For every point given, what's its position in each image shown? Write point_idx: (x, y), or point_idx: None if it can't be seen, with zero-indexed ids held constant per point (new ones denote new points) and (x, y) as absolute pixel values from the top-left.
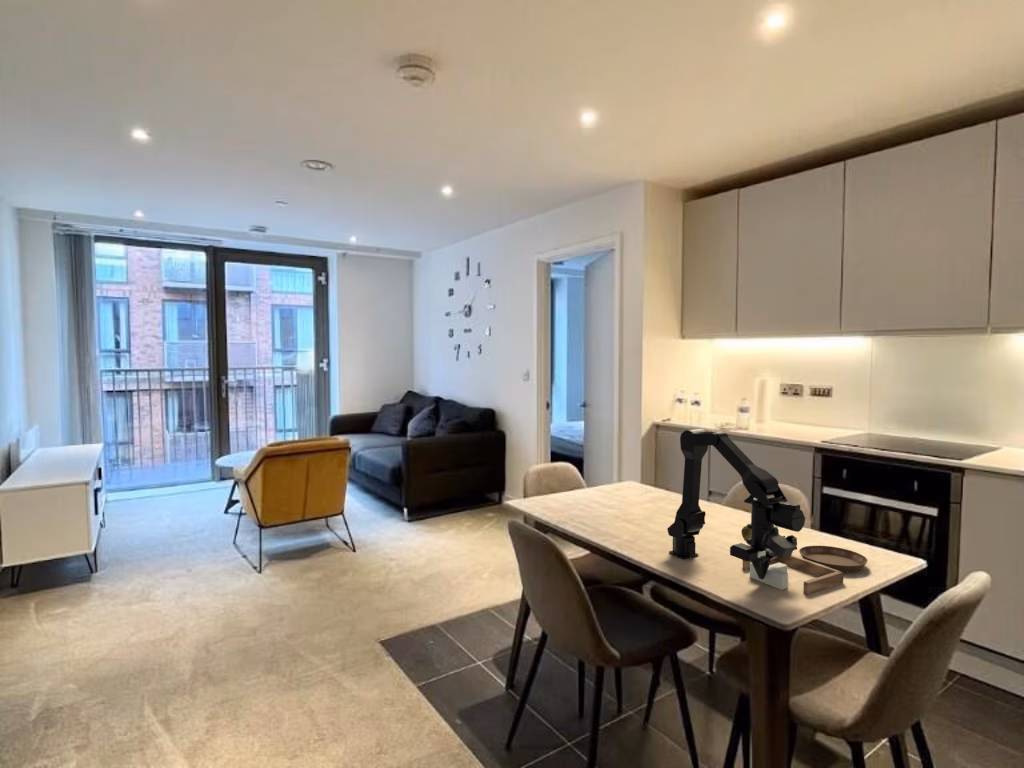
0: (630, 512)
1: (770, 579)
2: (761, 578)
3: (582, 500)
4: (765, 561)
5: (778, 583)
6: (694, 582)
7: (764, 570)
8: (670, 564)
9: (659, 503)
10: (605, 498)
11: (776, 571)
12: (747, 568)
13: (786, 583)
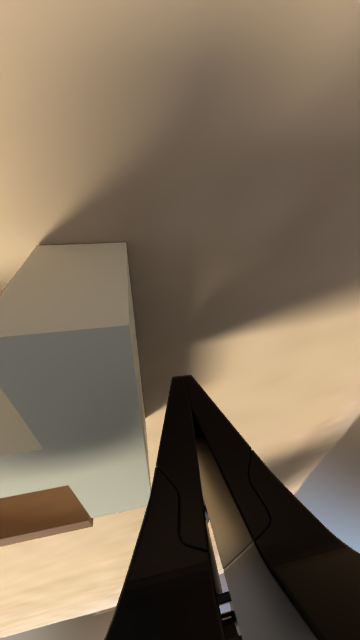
0: (96, 594)
1: (137, 359)
2: (192, 381)
3: None
4: (271, 563)
5: (130, 294)
6: (351, 420)
7: (193, 436)
8: None
9: (6, 620)
10: (92, 606)
11: (95, 409)
12: None
13: (45, 266)
